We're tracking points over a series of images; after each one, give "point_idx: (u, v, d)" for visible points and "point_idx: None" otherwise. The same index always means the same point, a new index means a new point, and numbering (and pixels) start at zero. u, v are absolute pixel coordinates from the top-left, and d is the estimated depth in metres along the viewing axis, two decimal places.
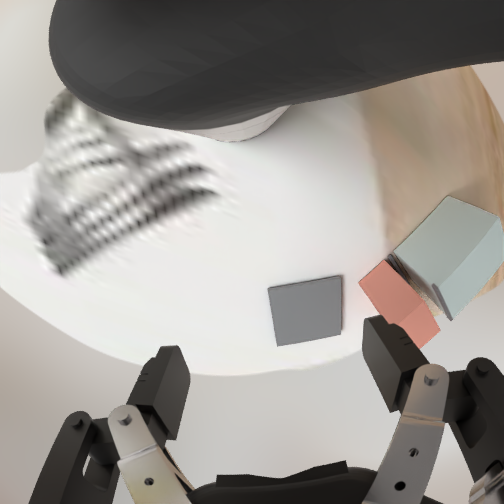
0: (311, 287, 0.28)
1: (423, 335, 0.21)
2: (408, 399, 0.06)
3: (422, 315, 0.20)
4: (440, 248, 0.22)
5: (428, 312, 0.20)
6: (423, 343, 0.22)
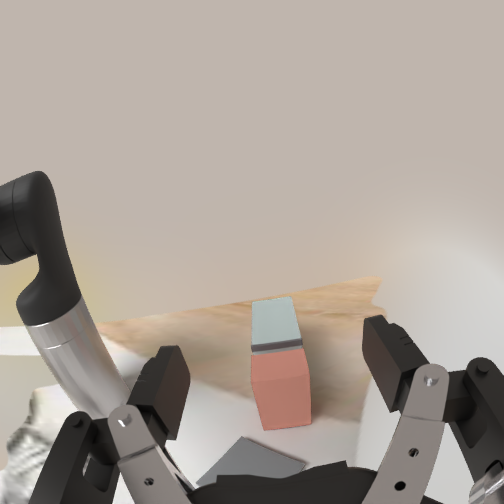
0: (226, 457, 0.22)
1: (290, 361, 0.25)
2: (408, 399, 0.06)
3: (265, 359, 0.26)
4: None
5: (267, 354, 0.27)
6: (303, 362, 0.25)
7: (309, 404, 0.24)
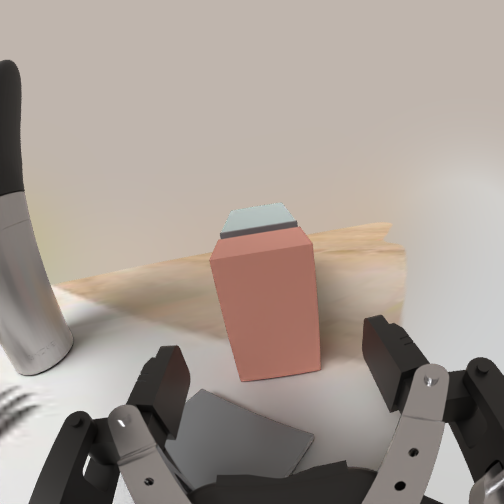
0: None
1: (279, 237, 0.16)
2: (408, 399, 0.06)
3: (238, 239, 0.17)
4: None
5: (243, 236, 0.18)
6: (300, 235, 0.16)
7: (316, 321, 0.16)
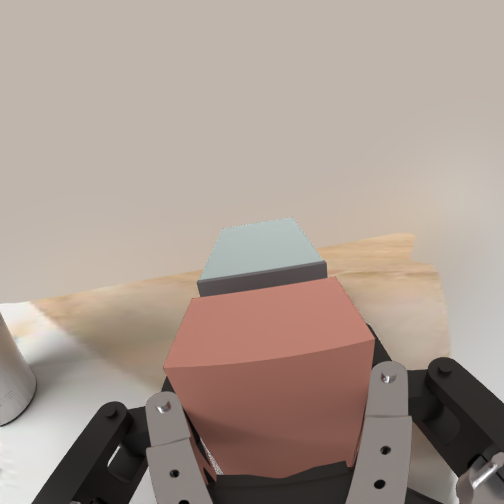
0: None
1: (302, 307, 0.08)
2: (368, 399, 0.06)
3: (225, 305, 0.09)
4: None
5: (235, 295, 0.10)
6: (344, 307, 0.08)
7: (355, 437, 0.08)
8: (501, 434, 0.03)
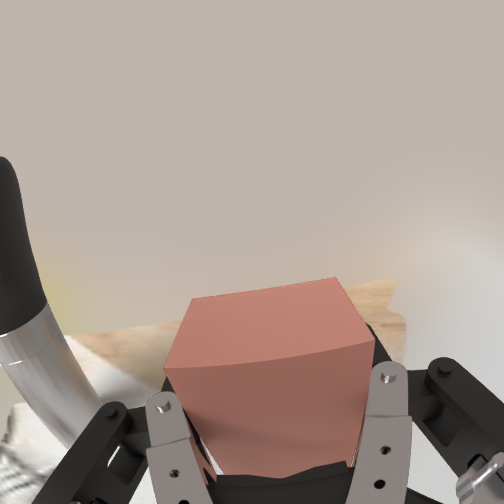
0: None
1: (302, 308, 0.08)
2: (368, 399, 0.06)
3: (225, 305, 0.09)
4: None
5: (235, 295, 0.10)
6: (344, 308, 0.08)
7: (355, 437, 0.08)
8: (501, 434, 0.03)
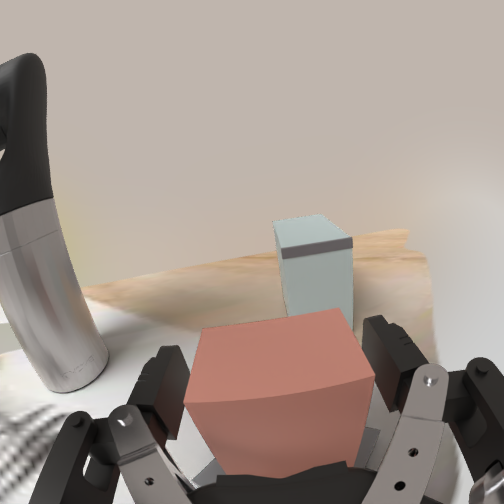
0: None
1: (309, 341, 0.09)
2: (407, 399, 0.06)
3: (236, 337, 0.10)
4: (283, 275, 0.25)
5: (244, 326, 0.10)
6: (347, 342, 0.08)
7: (354, 452, 0.08)
8: None
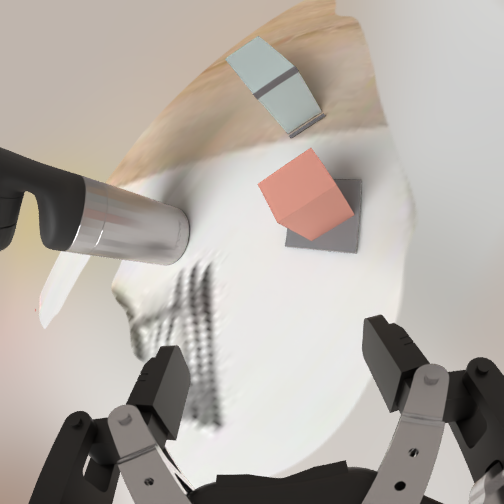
0: None
1: (306, 173, 0.20)
2: (408, 399, 0.06)
3: (275, 182, 0.22)
4: None
5: (275, 174, 0.22)
6: (321, 169, 0.20)
7: (346, 204, 0.23)
8: None
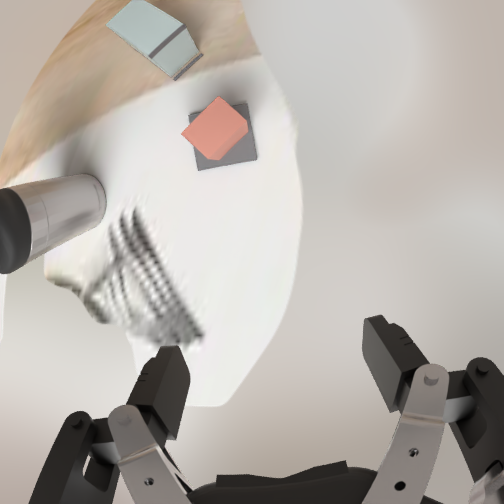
0: None
1: (220, 117, 0.24)
2: (408, 399, 0.06)
3: (196, 129, 0.25)
4: (143, 53, 0.25)
5: (193, 122, 0.25)
6: (232, 111, 0.24)
7: (247, 128, 0.29)
8: None
